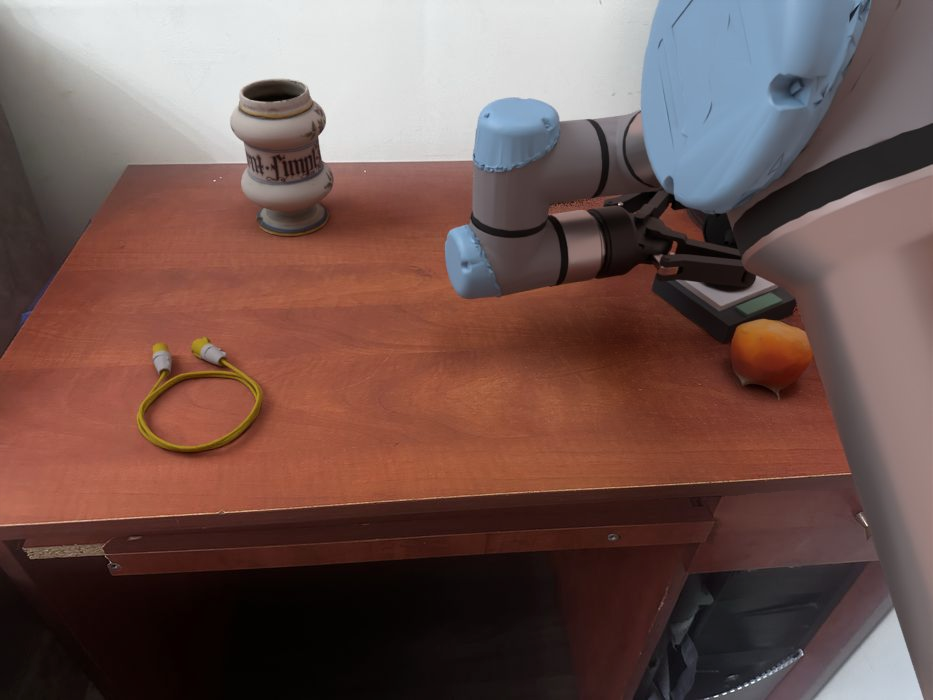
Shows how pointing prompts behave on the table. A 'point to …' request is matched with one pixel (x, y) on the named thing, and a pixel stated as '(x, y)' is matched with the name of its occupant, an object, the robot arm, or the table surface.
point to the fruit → (770, 354)
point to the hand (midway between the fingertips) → (755, 219)
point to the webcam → (720, 240)
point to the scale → (726, 304)
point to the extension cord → (203, 351)
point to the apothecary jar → (283, 155)
